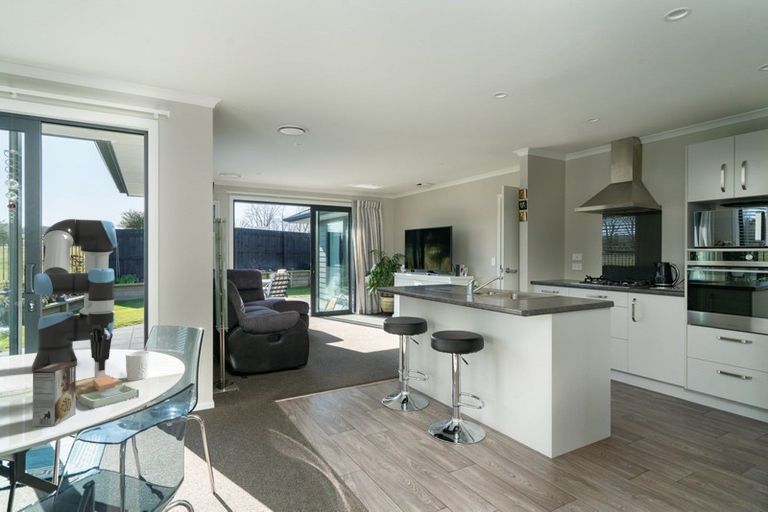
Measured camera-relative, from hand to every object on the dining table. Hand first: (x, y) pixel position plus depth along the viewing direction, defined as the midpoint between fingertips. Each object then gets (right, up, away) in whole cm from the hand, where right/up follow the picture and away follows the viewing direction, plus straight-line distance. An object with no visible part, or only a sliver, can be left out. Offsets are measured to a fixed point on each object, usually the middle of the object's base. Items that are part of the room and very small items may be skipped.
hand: (99, 379), depth 141 cm
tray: (+6, -6, -4) cm, 9 cm away
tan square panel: (-3, -6, +2) cm, 7 cm away
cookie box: (+1, -6, -21) cm, 22 cm away
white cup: (+1, -6, +20) cm, 21 cm away
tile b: (+7, -3, -5) cm, 9 cm away
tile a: (+2, -2, -2) cm, 3 cm away
